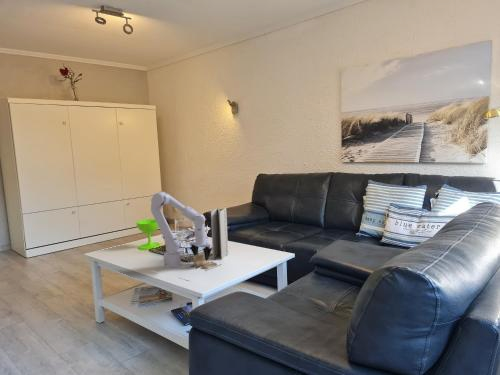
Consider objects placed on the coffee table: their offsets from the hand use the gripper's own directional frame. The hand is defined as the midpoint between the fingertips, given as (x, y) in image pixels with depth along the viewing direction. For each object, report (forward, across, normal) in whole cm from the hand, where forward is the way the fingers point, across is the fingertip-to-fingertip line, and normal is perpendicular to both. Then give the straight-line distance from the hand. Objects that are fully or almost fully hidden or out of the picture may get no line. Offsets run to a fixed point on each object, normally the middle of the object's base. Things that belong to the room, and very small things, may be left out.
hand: (201, 259), depth 207 cm
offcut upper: (+3, +6, 0) cm, 6 cm away
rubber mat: (+4, +5, -15) cm, 16 cm away
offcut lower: (+4, +6, -1) cm, 7 cm away
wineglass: (+4, -61, +18) cm, 64 cm away
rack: (+4, +3, 0) cm, 6 cm away
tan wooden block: (+4, 0, 0) cm, 4 cm away
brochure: (+5, 0, +19) cm, 19 cm away
